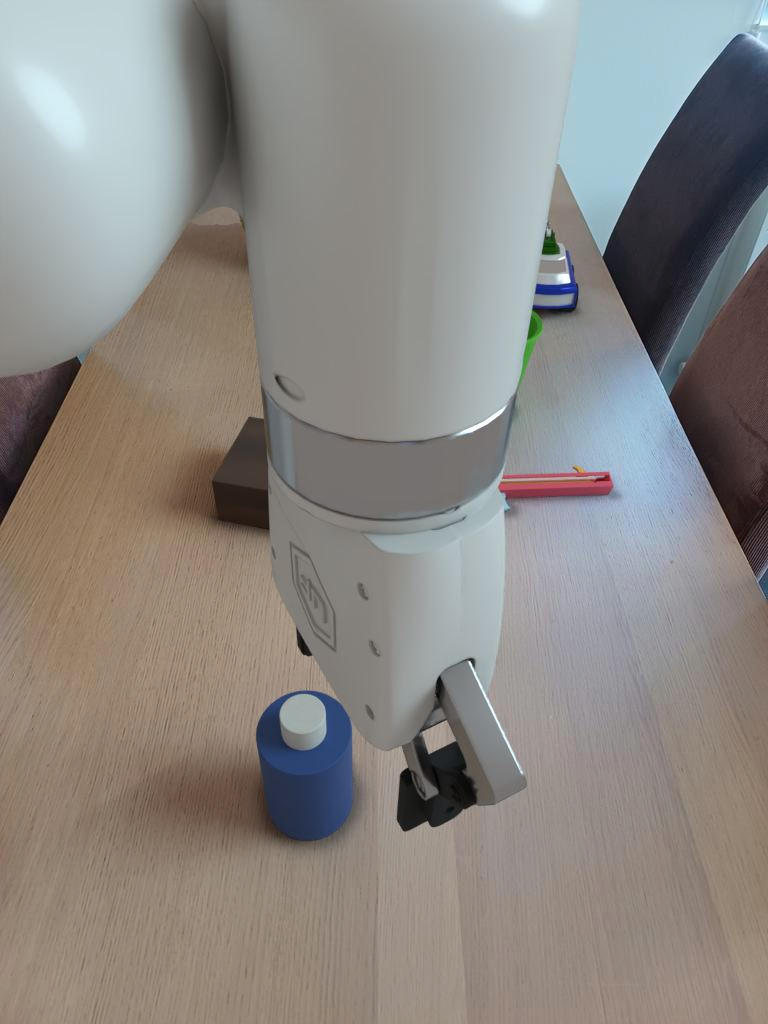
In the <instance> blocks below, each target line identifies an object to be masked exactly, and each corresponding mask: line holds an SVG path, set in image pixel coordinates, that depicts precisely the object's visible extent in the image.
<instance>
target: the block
mask: <svg viewBox="0 0 768 1024" xmlns="http://www.w3.org/2000/svg"><path fill="white" fill-rule="evenodd" d="M211 487H212V492H213V498H214V503H215V510H216V516H217V520H218V521H223V522H228V523H234V524H239V525H240V524H241V525H244V526H251V527H257V528H260V529H261V528H262V529H268V530H270V525H269V497H268V459H267V445H266V436H265V426H264V418H262V417H256V416H248V417H247V419H246V421H245V422H244V424H243V426H242V428H241V429H240V431H239V433H238V435H237V436H236V438H235V439H234V442H233V443H232V445H231V446H230V448H229V450H228V451H227V453H226V455H225V457H224V459H223V460H222V461H221V463H220V465H219V467H218V469H217V470H216V472H215V473H214V476H213V477H212V479H211Z"/></svg>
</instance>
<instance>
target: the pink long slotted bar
mask: <svg viewBox="0 0 768 1024" xmlns="http://www.w3.org/2000/svg"><path fill="white" fill-rule="evenodd" d="M572 470H574V471H576V472H556V473H555V472H553V473H528V474H527V473H526V474H525V473H524V474H503V477H502V480H501V482H500V484H499V486H498V489H499V491H500V493H501V495H502V497H503V500H504V512H508V511H509V510H510V508H511V507H510V506H509V505H508V503H507V501H506V499H515V498H516V499H517V498H542V497H543V498H545V497H546V498H547V497H548V498H549V497H570V496H571V497H572V496H573V497H575V496H598V495H599V496H601V495H604V496H605V495H610V493H611V492H612V490H613V488H615V487H614V481H613V479H612V476H611V473H610V471H588V472H587V471H586V470H585V469H584V468H583V467H582V466H579V465H573V466H572Z"/></svg>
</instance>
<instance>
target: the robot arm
mask: <svg viewBox="0 0 768 1024" xmlns="http://www.w3.org/2000/svg"><path fill="white" fill-rule="evenodd" d="M580 21H581V0H0V379H3V378H9V377H17V376H24V375H30V374H31V375H32V374H35V373H38V372H43V371H45V370H48V369H51V368H54V367H56V366H58V365H61V364H63V363H65V362H67V361H70V360H72V359H74V358H76V357H77V356H79V355H81V354H83V353H85V352H87V351H88V350H90V349H91V348H92V347H93V346H95V345H96V344H97V343H98V342H100V341H101V340H102V339H104V338H105V337H106V336H107V335H108V334H109V333H111V332H112V331H113V330H114V329H115V328H116V327H117V326H118V325H119V324H120V323H121V322H122V320H123V319H124V318H125V317H126V315H128V313H129V312H130V310H132V308H133V306H134V305H135V304H136V303H137V301H138V300H139V298H140V297H141V296H142V294H143V293H144V292H145V290H146V289H147V287H148V286H149V285H150V283H152V281H153V279H154V278H155V276H156V274H157V273H158V271H159V270H160V268H161V267H162V265H163V264H164V262H165V260H167V258H168V256H169V255H170V253H171V252H172V250H173V248H174V247H175V246H176V244H177V242H178V241H179V239H180V238H181V236H182V235H183V233H184V232H185V230H186V229H187V227H188V225H189V224H190V222H192V221H193V220H196V219H197V218H199V217H201V216H203V215H204V214H207V213H208V212H210V211H213V210H214V209H217V208H228V209H231V210H233V211H235V212H236V213H237V215H238V214H239V215H240V216H241V217H242V219H243V221H244V224H245V232H244V235H245V234H246V235H245V241H246V242H245V243H246V245H245V246H246V254H247V264H248V273H249V286H250V294H251V306H252V316H253V325H254V326H253V327H254V335H255V336H254V337H255V345H256V346H255V347H256V356H257V367H258V373H259V384H260V393H261V403H262V404H261V405H262V414H263V419H264V426H265V436H266V445H267V459H268V497H269V525H270V529H269V545H270V547H269V548H270V562H271V571H272V572H271V573H272V578H273V581H274V584H275V587H276V590H277V592H278V595H279V597H280V600H281V601H282V604H283V605H284V608H285V609H286V611H287V613H288V614H289V616H290V618H291V620H292V622H293V623H294V625H295V633H296V644H297V648H298V649H299V651H300V653H301V655H302V656H306V657H313V659H314V660H315V662H316V664H317V666H318V668H320V671H321V672H322V674H323V676H324V678H325V679H326V681H327V682H328V684H329V686H330V687H331V689H332V691H333V693H334V694H335V696H336V698H337V699H338V702H339V703H340V704H341V705H342V706H343V708H344V709H345V711H346V713H347V714H348V716H349V718H350V720H351V723H352V724H353V726H354V727H355V728H356V730H357V731H358V733H359V734H360V736H361V737H362V738H363V739H364V740H365V741H366V742H367V743H369V744H370V745H371V746H372V747H374V748H376V749H378V750H380V751H383V752H390V751H392V750H394V749H397V748H399V747H401V749H402V752H403V755H404V759H405V761H406V765H407V767H406V768H404V769H403V770H402V771H401V772H400V774H399V781H398V792H397V793H398V795H397V804H396V805H397V807H396V808H397V809H396V822H397V823H398V825H399V827H400V829H401V831H402V832H404V833H405V832H410V831H412V830H414V829H415V828H417V827H419V826H421V825H424V824H425V823H426V822H427V823H428V825H429V826H430V827H431V828H437V827H440V826H442V825H444V824H446V823H448V822H450V821H452V820H454V819H455V818H456V817H458V816H459V815H460V814H461V813H462V812H463V811H464V810H468V809H469V808H471V807H473V806H477V807H486V806H489V807H490V806H495V805H497V804H499V803H501V802H503V801H504V800H507V799H508V798H510V797H512V796H513V795H516V794H517V793H519V792H521V791H523V790H525V789H526V788H527V786H528V785H527V784H528V782H527V778H526V775H525V772H524V770H523V769H522V766H521V764H520V762H519V759H518V758H517V756H516V754H515V751H514V749H513V747H512V746H511V743H510V741H509V739H508V737H507V734H506V733H505V730H504V728H503V726H502V724H501V722H500V720H499V717H498V716H497V713H496V711H495V710H494V707H493V705H492V703H491V701H490V699H489V697H488V693H489V690H490V687H491V685H492V684H491V683H492V680H493V678H494V674H495V673H494V672H495V668H496V664H497V659H498V653H499V647H500V646H499V645H500V639H501V631H502V622H503V614H504V613H503V612H504V596H505V585H506V584H505V583H506V582H505V580H506V524H505V511H504V500H503V497H502V495H501V493H500V491H499V489H498V486H499V484H500V482H501V480H502V477H503V475H504V473H505V468H506V464H507V458H508V450H509V444H510V438H511V433H512V427H513V422H514V421H513V420H514V416H515V415H514V414H515V409H516V403H517V397H518V391H519V389H518V386H519V380H520V376H521V370H522V365H523V358H524V351H525V347H526V342H527V336H528V330H529V324H530V318H531V312H532V310H533V308H532V307H533V301H534V295H535V289H536V283H537V277H538V271H539V266H540V260H541V254H542V248H543V242H544V236H545V230H546V227H547V221H548V219H549V214H550V213H549V212H550V207H551V202H552V201H551V200H552V196H553V195H552V194H553V189H554V183H555V177H556V171H557V167H558V159H559V154H560V149H561V143H562V137H563V131H564V125H565V119H566V113H567V108H568V107H567V106H568V102H569V97H570V89H571V84H572V78H573V71H574V66H575V60H576V55H577V54H576V52H577V47H578V46H577V45H578V36H579V28H580ZM239 215H238V216H239ZM240 216H239V217H240ZM444 722H447V723H448V726H449V728H450V730H451V733H452V735H453V737H454V739H455V741H452V742H451V743H448V744H446V745H445V746H442V747H441V748H438V749H436V750H434V751H432V752H430V753H429V751H428V747H427V743H426V741H425V737H424V734H423V732H425V731H428V730H430V729H431V728H434V727H435V726H437V725H439V724H441V723H444Z"/></svg>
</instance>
